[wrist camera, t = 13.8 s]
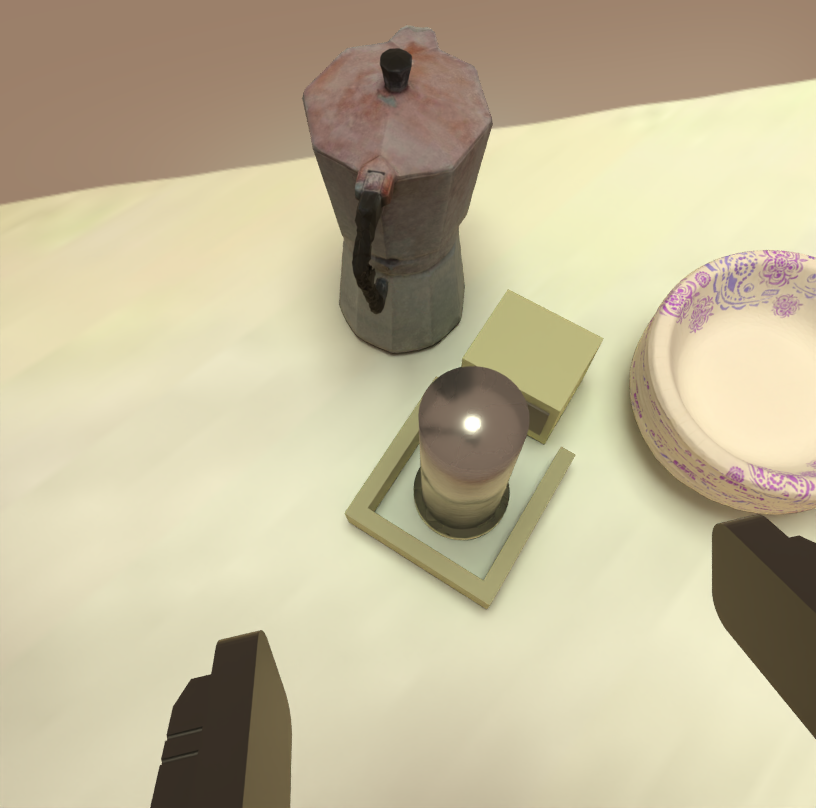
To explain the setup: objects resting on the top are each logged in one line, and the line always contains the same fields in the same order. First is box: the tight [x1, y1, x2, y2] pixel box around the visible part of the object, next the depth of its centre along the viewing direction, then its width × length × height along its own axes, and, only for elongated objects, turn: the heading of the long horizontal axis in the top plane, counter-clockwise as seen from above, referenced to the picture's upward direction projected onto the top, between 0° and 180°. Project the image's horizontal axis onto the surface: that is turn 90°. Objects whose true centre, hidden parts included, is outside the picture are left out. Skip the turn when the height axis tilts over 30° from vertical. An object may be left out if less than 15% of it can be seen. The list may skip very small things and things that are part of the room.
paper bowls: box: [629, 250, 816, 514], centre depth 42 cm, size 15×15×8 cm
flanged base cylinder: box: [414, 366, 529, 540], centre depth 38 cm, size 6×6×14 cm
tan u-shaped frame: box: [345, 290, 604, 609], centre depth 42 cm, size 16×10×6 cm, turn 148°
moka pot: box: [302, 26, 493, 353], centre depth 40 cm, size 10×15×20 cm, turn 173°
